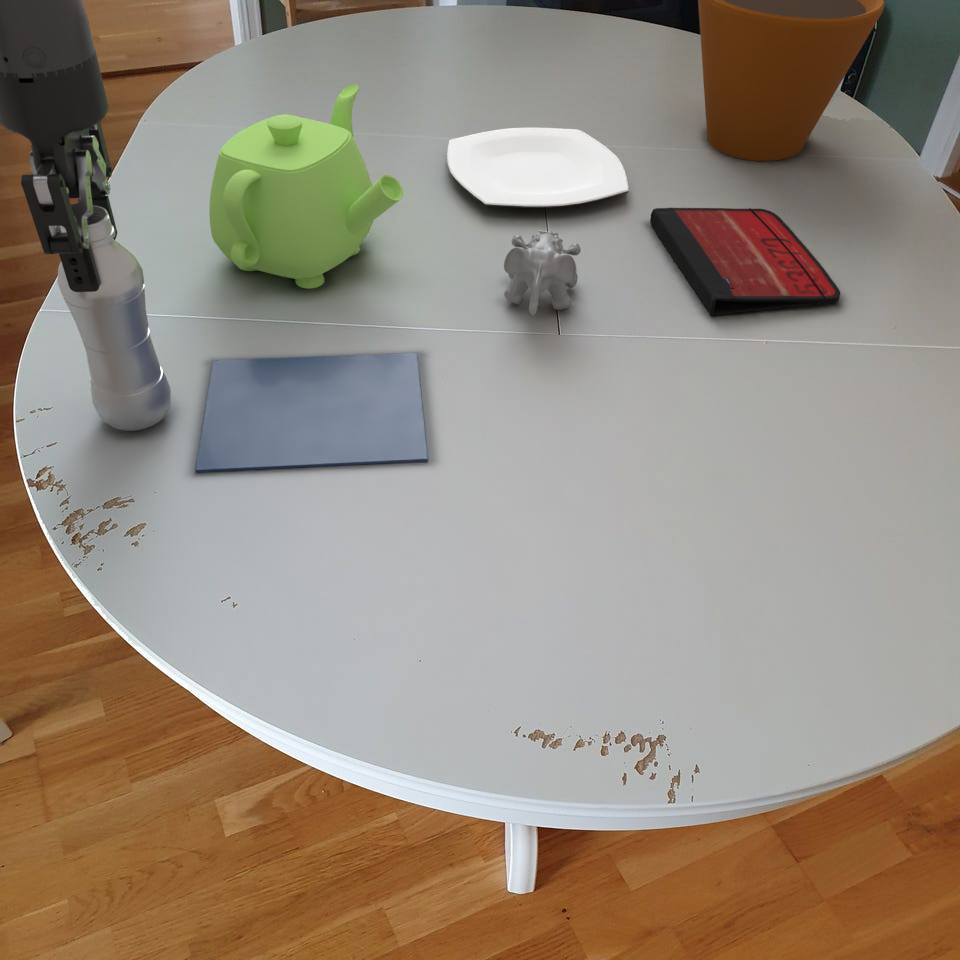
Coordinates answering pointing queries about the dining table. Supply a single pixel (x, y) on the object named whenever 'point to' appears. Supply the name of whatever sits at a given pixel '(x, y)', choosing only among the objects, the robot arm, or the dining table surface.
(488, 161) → the plate
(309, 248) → the teapot
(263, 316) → the dining table surface
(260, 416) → the flat rectangular board
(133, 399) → the silver metal bottle
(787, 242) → the notebook
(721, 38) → the flower pot
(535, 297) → the gray elephant figurine
